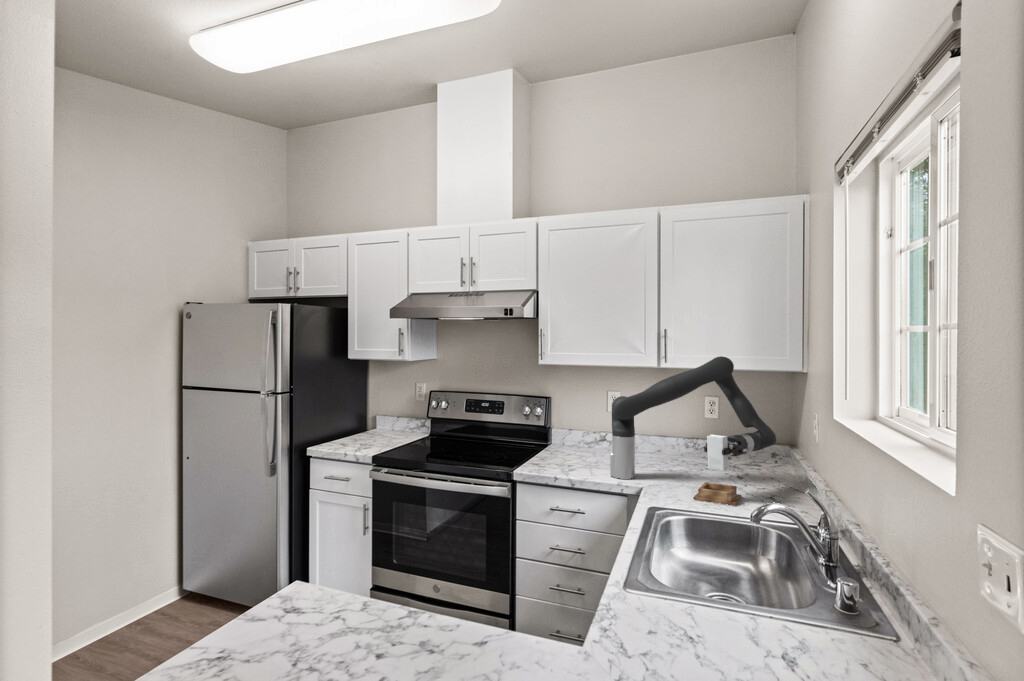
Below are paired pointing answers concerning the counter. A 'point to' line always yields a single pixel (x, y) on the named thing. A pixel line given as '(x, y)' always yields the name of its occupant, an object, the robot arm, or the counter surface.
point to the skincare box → (717, 452)
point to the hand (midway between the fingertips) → (713, 450)
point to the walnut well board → (718, 494)
